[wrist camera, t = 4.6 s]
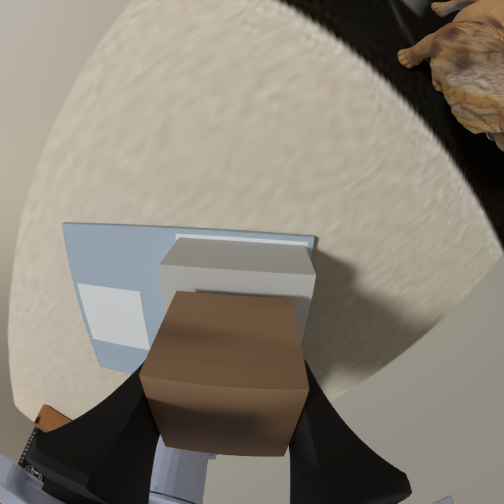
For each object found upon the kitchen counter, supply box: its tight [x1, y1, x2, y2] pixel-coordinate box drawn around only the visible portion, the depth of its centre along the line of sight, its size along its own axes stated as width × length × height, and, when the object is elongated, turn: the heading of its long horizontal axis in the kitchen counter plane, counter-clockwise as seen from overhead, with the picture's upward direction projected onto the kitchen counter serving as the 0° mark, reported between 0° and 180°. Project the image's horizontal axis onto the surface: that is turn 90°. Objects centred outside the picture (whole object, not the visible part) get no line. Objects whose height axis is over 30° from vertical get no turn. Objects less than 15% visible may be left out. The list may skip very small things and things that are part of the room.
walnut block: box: [139, 291, 309, 456], centre depth 10 cm, size 5×5×5 cm
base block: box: [159, 237, 316, 346], centre depth 15 cm, size 7×7×4 cm
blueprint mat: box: [62, 222, 315, 374], centre depth 18 cm, size 13×16×1 cm
